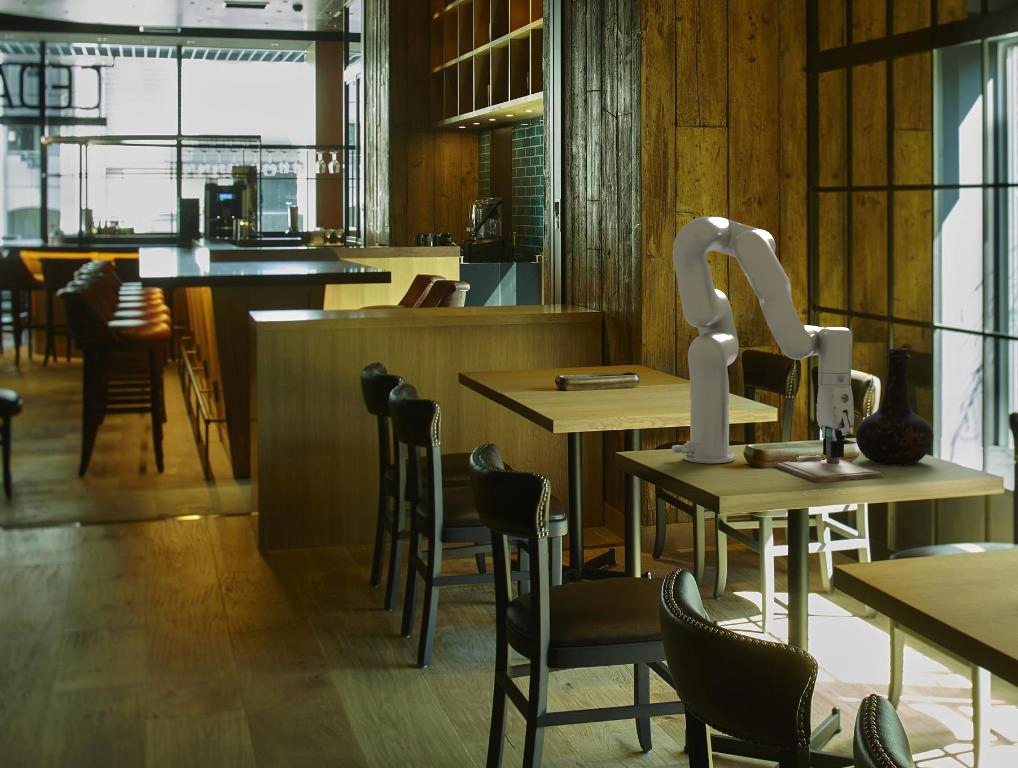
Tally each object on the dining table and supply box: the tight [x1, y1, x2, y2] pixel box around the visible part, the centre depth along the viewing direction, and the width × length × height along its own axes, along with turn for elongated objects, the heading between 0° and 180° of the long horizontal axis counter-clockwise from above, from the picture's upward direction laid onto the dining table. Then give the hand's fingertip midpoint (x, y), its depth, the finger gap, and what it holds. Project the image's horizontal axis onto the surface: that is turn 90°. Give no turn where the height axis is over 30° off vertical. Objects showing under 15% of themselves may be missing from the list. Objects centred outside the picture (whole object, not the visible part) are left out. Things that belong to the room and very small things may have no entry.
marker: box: [825, 428, 840, 464], centre depth 300 cm, size 3×3×8 cm
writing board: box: [777, 454, 883, 483], centre depth 296 cm, size 17×20×2 cm
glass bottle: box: [855, 347, 934, 466], centre depth 305 cm, size 18×18×28 cm
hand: (833, 455), depth 301 cm, fingers closed on marker, 2 cm apart
